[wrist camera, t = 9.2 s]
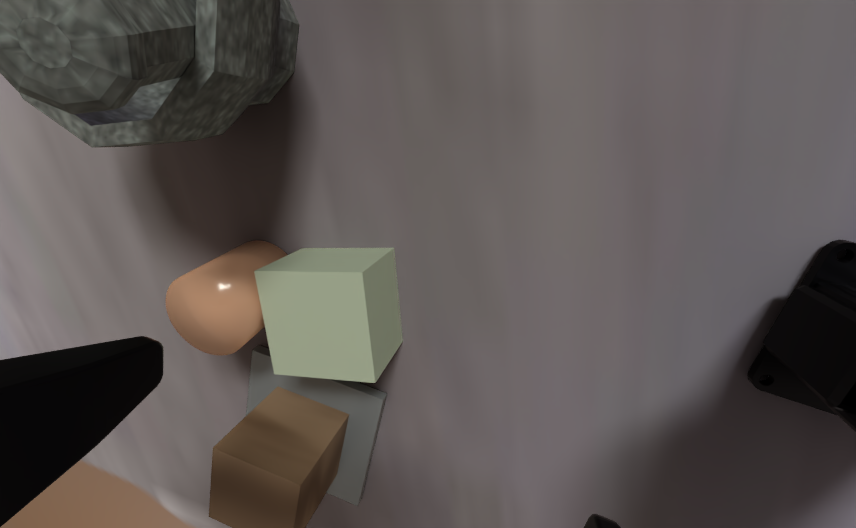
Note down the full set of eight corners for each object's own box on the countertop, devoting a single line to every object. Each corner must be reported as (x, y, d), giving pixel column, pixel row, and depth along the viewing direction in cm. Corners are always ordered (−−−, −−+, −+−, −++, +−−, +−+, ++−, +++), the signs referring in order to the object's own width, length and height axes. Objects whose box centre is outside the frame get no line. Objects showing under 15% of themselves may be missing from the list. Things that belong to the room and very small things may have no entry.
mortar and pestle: (129, 74, 21) (-348, -1, 10) (181, -139, 17) (-480, -650, 6) (309, 198, 20) (26, 272, 9) (401, 5, 17) (124, -265, 5)
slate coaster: (387, 393, 22) (383, 399, 22) (361, 498, 25) (357, 506, 24) (258, 345, 24) (252, 350, 23) (248, 449, 26) (242, 456, 26)
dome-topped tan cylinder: (269, 227, 21) (208, 259, 17) (313, 292, 22) (265, 337, 18) (217, 259, 22) (148, 295, 18) (260, 319, 23) (205, 366, 19)
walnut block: (337, 474, 24) (289, 553, 19) (270, 446, 25) (208, 516, 20) (349, 414, 23) (300, 485, 18) (277, 386, 23) (212, 447, 19)
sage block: (394, 247, 20) (362, 272, 16) (403, 340, 21) (375, 383, 18) (303, 247, 21) (253, 271, 17) (317, 335, 23) (274, 374, 19)
